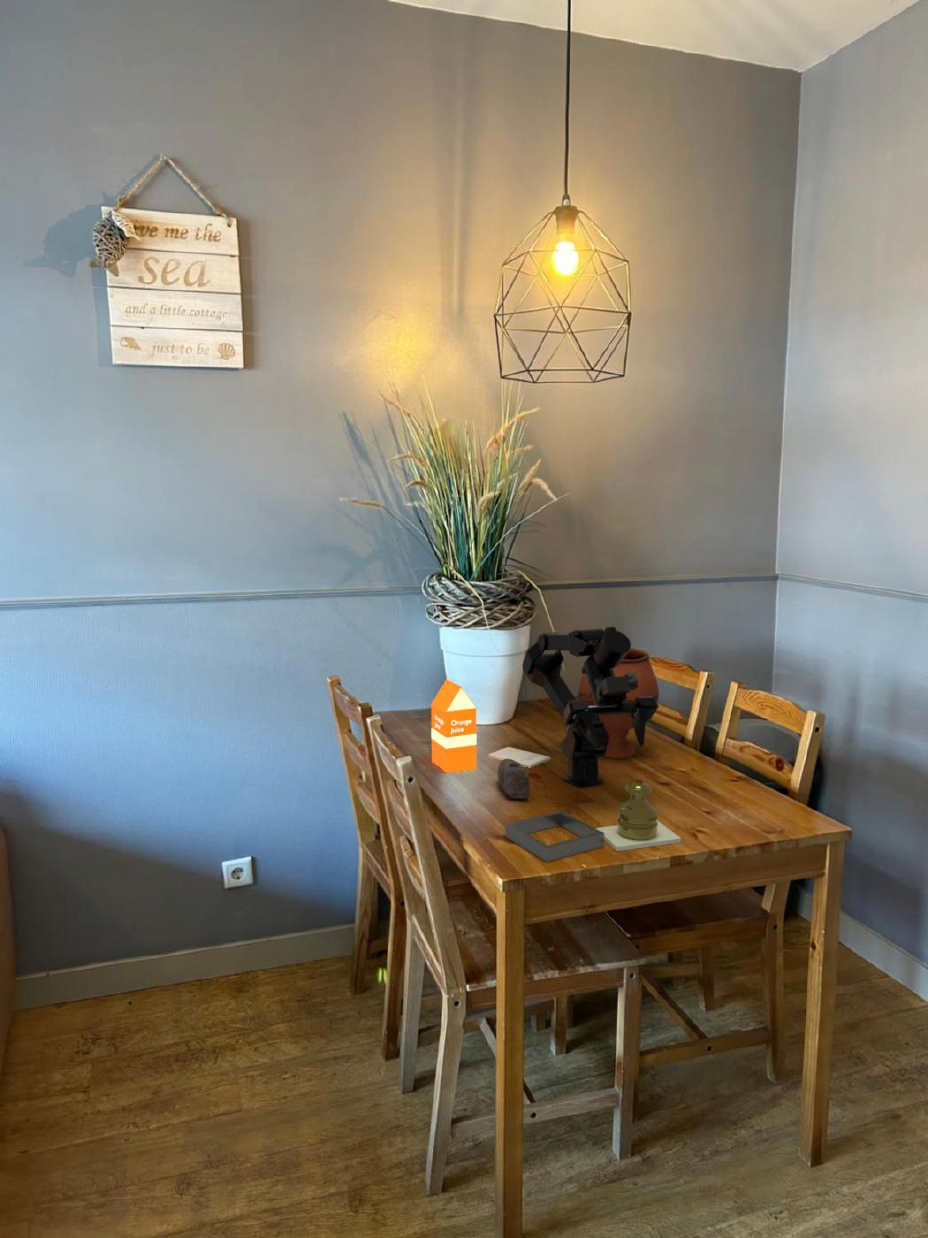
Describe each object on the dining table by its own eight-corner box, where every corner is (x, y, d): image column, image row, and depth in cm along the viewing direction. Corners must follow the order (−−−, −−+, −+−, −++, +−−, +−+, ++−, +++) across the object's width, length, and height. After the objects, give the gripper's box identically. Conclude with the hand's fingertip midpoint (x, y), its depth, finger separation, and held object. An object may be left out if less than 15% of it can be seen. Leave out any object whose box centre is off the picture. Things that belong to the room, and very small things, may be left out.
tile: (616, 851, 158) (617, 847, 158) (595, 832, 167) (595, 828, 167) (681, 842, 162) (681, 838, 162) (656, 824, 171) (656, 820, 171)
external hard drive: (509, 752, 218) (550, 762, 210) (488, 760, 212) (530, 771, 204) (509, 746, 218) (550, 756, 210) (488, 754, 211) (530, 764, 204)
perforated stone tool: (492, 780, 196) (492, 750, 195) (515, 779, 197) (515, 749, 196) (507, 805, 181) (507, 772, 180) (532, 803, 182) (532, 771, 181)
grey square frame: (505, 836, 165) (505, 824, 165) (560, 822, 172) (561, 810, 171) (546, 862, 154) (546, 848, 154) (604, 846, 161) (604, 833, 160)
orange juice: (445, 774, 200) (445, 688, 197) (431, 763, 208) (430, 680, 205) (477, 769, 203) (477, 684, 200) (461, 758, 211) (461, 677, 208)
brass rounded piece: (642, 823, 169) (644, 773, 168) (665, 837, 163) (667, 785, 161) (609, 828, 167) (610, 778, 165) (631, 843, 160) (632, 790, 158)
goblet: (575, 763, 208) (576, 659, 204) (579, 739, 226) (581, 644, 222) (658, 767, 204) (661, 662, 200) (655, 743, 223) (658, 646, 219)
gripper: (568, 661, 175) (585, 730, 166) (656, 657, 179) (678, 724, 170) (555, 690, 184) (571, 757, 175) (640, 686, 188) (659, 752, 179)
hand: (620, 747), depth 174 cm, fingers open, 9 cm apart
